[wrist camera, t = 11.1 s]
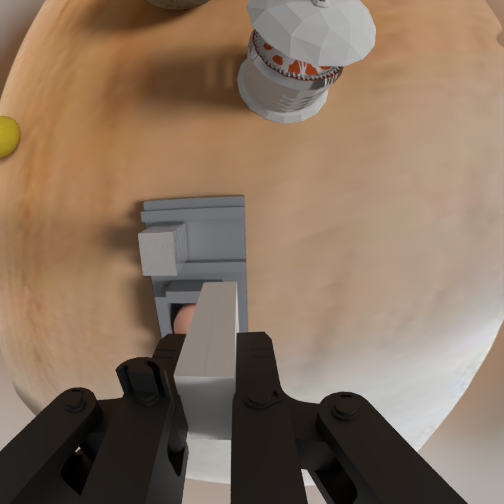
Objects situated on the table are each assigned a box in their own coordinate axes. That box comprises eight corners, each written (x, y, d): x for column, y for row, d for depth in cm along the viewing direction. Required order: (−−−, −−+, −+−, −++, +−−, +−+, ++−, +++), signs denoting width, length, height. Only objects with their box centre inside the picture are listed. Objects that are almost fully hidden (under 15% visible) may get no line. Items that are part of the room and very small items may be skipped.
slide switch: (159, 258, 26) (143, 275, 22) (156, 223, 26) (138, 233, 21) (188, 258, 27) (176, 275, 22) (185, 222, 26) (172, 231, 21)
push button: (182, 332, 29) (177, 347, 26) (177, 296, 27) (170, 308, 24) (222, 332, 29) (220, 347, 26) (219, 295, 28) (216, 309, 25)
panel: (176, 381, 33) (169, 406, 29) (149, 200, 27) (131, 204, 22) (249, 382, 34) (250, 408, 29) (244, 195, 27) (244, 198, 23)
